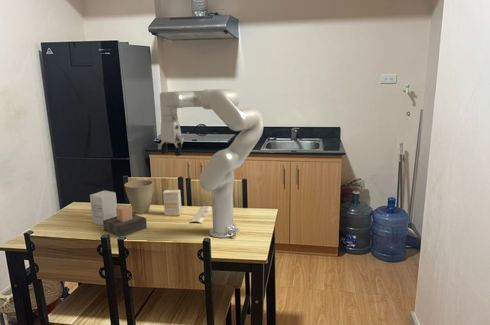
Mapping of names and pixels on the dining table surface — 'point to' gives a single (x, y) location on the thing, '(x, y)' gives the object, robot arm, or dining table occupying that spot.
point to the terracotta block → (124, 213)
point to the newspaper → (201, 214)
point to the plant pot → (140, 195)
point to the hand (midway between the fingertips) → (171, 154)
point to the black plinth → (124, 225)
